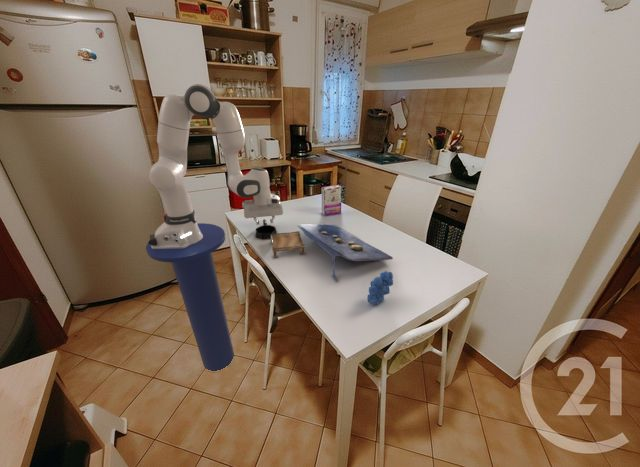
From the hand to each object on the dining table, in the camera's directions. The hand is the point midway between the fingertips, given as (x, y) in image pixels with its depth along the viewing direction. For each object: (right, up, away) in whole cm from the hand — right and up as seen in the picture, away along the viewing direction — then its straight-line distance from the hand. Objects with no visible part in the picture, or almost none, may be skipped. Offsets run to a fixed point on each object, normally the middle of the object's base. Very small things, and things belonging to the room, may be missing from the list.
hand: (264, 223), depth 141 cm
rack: (+15, -12, -20) cm, 27 cm away
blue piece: (+38, -13, -20) cm, 45 cm away
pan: (+1, -4, -4) cm, 6 cm away
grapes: (+50, -29, -50) cm, 76 cm away
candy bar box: (+37, +7, +17) cm, 41 cm away
